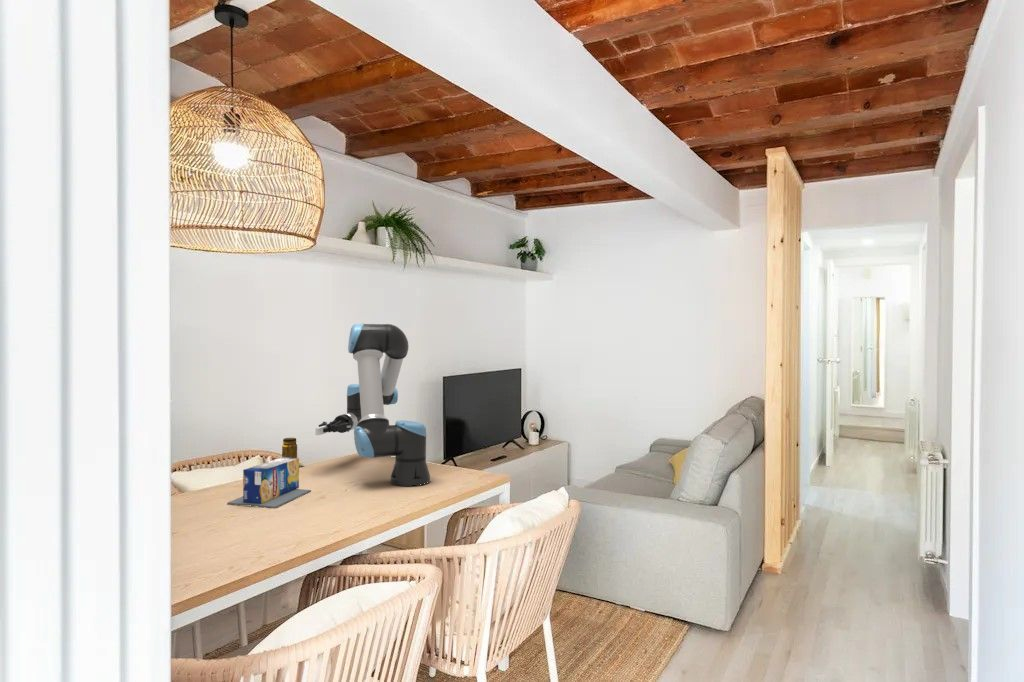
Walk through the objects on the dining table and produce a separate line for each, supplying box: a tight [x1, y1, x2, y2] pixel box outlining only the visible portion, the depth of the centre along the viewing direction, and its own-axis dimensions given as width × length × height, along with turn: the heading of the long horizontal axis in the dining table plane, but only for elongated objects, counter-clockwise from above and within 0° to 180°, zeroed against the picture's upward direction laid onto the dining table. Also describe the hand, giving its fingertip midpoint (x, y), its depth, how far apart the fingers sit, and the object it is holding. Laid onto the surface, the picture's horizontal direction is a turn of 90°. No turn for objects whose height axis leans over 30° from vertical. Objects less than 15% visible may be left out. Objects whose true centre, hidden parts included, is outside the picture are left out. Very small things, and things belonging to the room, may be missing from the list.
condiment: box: [281, 437, 304, 468], centre depth 272 cm, size 7×8×12 cm
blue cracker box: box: [242, 456, 300, 504], centre depth 224 cm, size 7×11×22 cm
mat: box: [226, 488, 312, 509], centre depth 223 cm, size 18×22×1 cm
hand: (317, 431), depth 253 cm, fingers closed
